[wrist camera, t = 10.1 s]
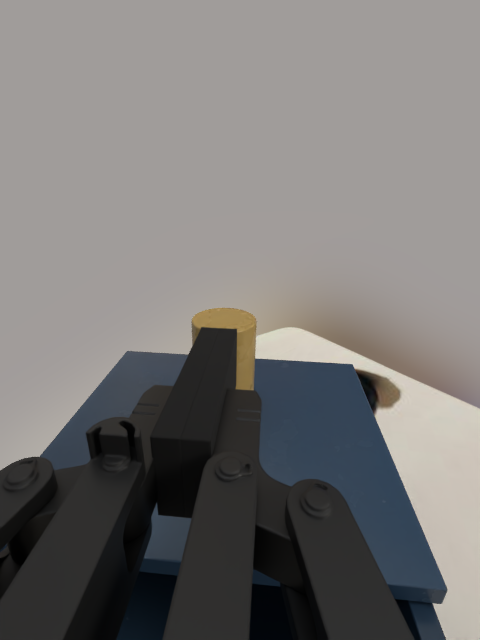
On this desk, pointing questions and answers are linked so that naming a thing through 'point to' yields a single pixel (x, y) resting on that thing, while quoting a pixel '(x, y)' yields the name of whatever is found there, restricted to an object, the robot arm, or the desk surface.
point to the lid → (281, 450)
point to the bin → (266, 612)
